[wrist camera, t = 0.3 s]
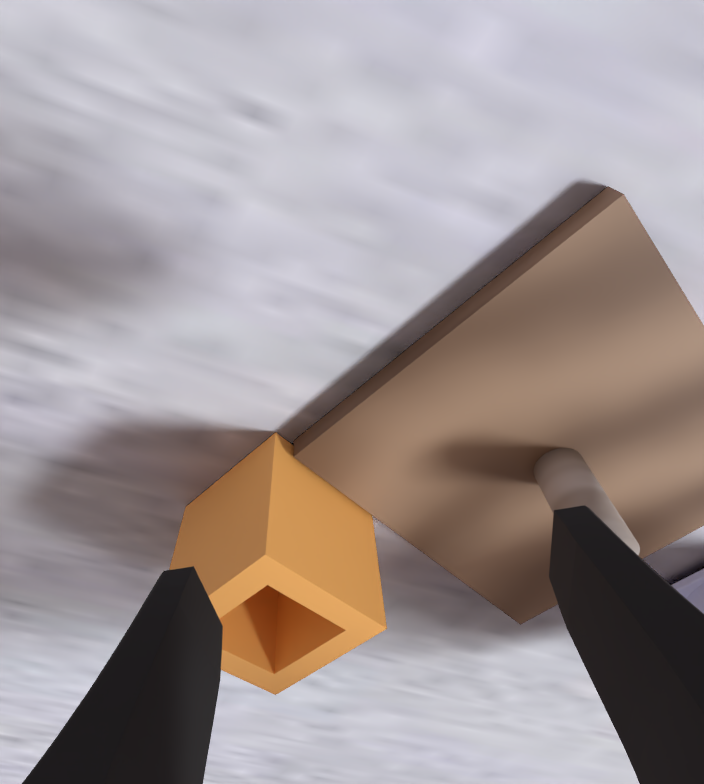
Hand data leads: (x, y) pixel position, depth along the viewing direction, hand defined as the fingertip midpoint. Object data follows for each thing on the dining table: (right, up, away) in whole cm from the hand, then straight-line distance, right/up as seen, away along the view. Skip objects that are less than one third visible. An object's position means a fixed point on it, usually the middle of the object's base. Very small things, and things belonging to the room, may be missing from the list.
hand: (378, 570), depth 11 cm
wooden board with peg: (+8, +1, +12) cm, 14 cm away
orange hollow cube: (-4, -1, +12) cm, 13 cm away
